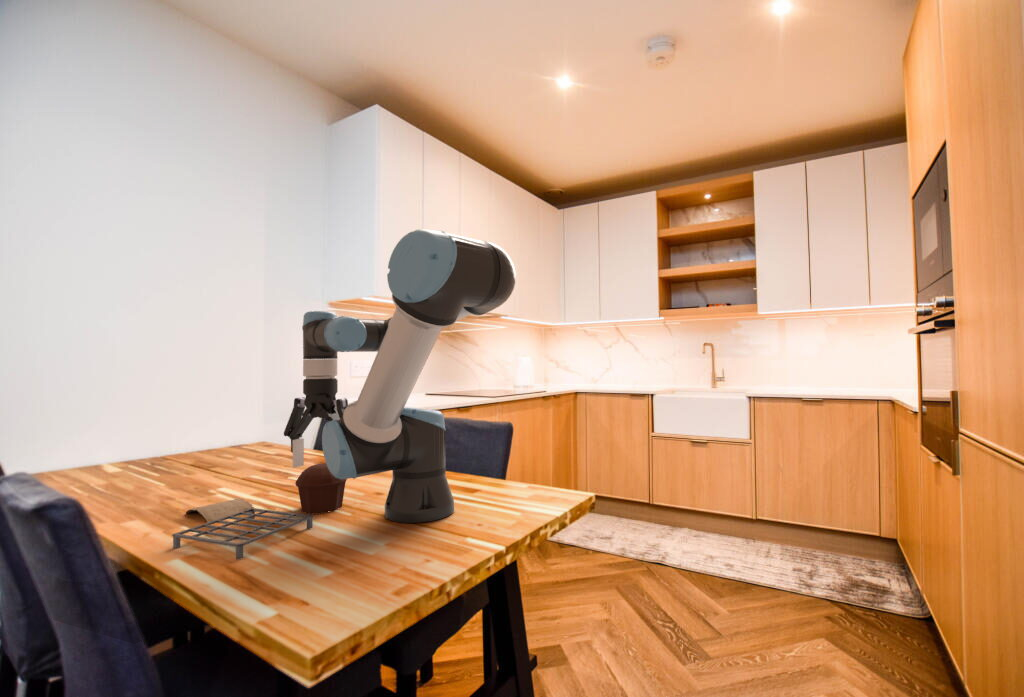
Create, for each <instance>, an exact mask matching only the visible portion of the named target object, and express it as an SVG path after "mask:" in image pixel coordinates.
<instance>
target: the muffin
mask: <svg viewBox="0 0 1024 697" xmlns="http://www.w3.org/2000/svg"><path fill="white" fill-rule="evenodd" d="M347 480H348V479H338V478H336V477H334V476H333V475H332V474H331V472H330V471H329V469H328V467H327V464H326V462H325V463H323V462H322V463H317V464H313V465H310V466H308V467H306V469H304V470H303V471H302V472H301V473H300V474H299V476H298V477H297V479H296V481H295V486H296V487H297V488H298V489H297V490H298V495H299V500H300V501H299V502H300V508H301V512H306V513H305V514H308V513H310V514H309V515H313V514H312V513H320V514H325V513H324V512H327V513H329V512H328V511H331V512H334V511H333V510H336V511H337V510H338V508H339V509H341V508H343V501H344V494H345V489H346V482H347ZM340 507H341V508H340Z"/></svg>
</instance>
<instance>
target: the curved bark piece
mask: <svg viewBox="0 0 1024 697" xmlns="http://www.w3.org/2000/svg"><path fill="white" fill-rule="evenodd" d="M251 508H255V507H254V506H253V504H252V503H250V502H249V501H248V500H244V498H241V497H238V498H233V499H231V500H226V501H221V502H216V503H212V504H207V505H203V506H198V507H193V508H191V509H188V510H186V512H185V514H190V513H194V512H198V513H199V514H200V515H202V516H203V518H204V519H205V520H206V523H208V522H211V521H214V520H217V519H220V518H223V517H226V516H230V515H233V514H236V513H239V512H242V511H245V510H248V509H251ZM255 512H256V511H255ZM247 513H249V512H247ZM256 513H257V512H256ZM235 517H236V516H235ZM238 517H241V516H240V515H238Z"/></svg>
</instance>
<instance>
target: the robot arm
mask: <svg viewBox="0 0 1024 697" xmlns="http://www.w3.org/2000/svg"><path fill="white" fill-rule="evenodd" d="M387 269H388V270H389V271H388V273H387V275H386V277H387V285H388V289H389V290H390V292H391V299H392V302H393V304H394V306H395V310H394V312H393V315H392V316H391V317H389V318H387V319H372V318H371V319H370V318H357V317H355V316H354V317H353V316H343V315H341V316H337V313H336V312H333V311H323V310H320V311H319V310H313V311H311V310H310V311H306V312H305V313H304V315H303V320H302V326H301V327H302V353H303V354H302V356H303V358H302V359H303V360H302V363H303V364H302V365H303V366H302V376H303V377H305V378H304V379H303V381H302V384H303V385H302V393H303V394H304V395H305V396H304V397H295V398H294V399H293V408H292V410H291V413H290V416H289V419H288V421H287V423H286V426H285V429H284V431H283V436H284V437H288V438H289V439H290V452H291V453H292V468H293V469H294V468H300V467H303V466H305V464H304V463H305V441H304V440H305V439H304V436H303V434H304V433H305V431H306V430H307V429H308V427H309V425H310V424H311V422H312V421H313V420H314V419H315V418H319V419H325V421H326V420H327V422H326V423H325V424H324V426H323V429H322V432H321V433H322V434H321V445H322V452H323V457H324V460H325V463H326V464H327V467H328V469H329V471H330V472H331V474H332V475H333V476H334V477H336V478H338V479H347V480H348V479H353V480H355V479H357V478H359V477H360V478H362V477H366V476H370V475H376V474H382V473H386V472H390V471H392V479H391V480H392V481H391V484H390V486H389V491H388V494H387V496H386V500H385V503H384V517H385V518H386V519H387V520H389V521H392V522H396V523H404V524H406V523H408V524H411V523H412V524H413V523H414V524H417V523H418V524H419V523H427V522H433V521H437V520H440V519H441V520H442V519H443V518H447V517H449V516H451V515H452V514H453V513H454V512H455V498H454V496H453V493H452V491H451V488H450V484H449V481H448V478H447V475H446V474H447V473H446V470H447V469H446V431H447V429H446V424H445V416H444V414H443V413H442V412H441V411H440V410H437V409H436V410H435V409H424V408H413V407H411V408H410V407H405V406H406V404H407V402H408V400H409V398H410V396H411V393H412V391H413V389H415V388H414V387H415V386H416V384H417V381H418V379H419V378H420V375H421V373H422V371H423V369H424V367H425V365H426V363H427V360H429V356H430V355H431V353H432V350H433V348H434V346H435V344H436V342H437V340H438V339H439V336H440V334H441V332H442V329H443V328H449V327H451V326H453V325H454V324H455V323H456V322H458V321H460V320H463V319H464V318H467V317H469V316H470V315H473V316H477V317H478V316H482V315H485V314H487V313H489V312H491V311H493V310H495V309H497V308H499V307H501V306H502V305H503V304H505V303H506V302H507V301H508V299H509V298H510V297H511V295H512V293H513V291H514V289H515V285H516V278H517V276H516V269H515V266H514V263H513V261H512V259H511V257H510V256H509V254H508V253H507V252H506V251H505V250H504V249H503V248H501V247H500V246H498V245H497V244H495V243H492V242H489V241H487V240H478V239H474V238H470V237H465V236H462V235H458V234H457V235H456V234H454V233H448V232H447V231H444V230H437V229H435V230H434V229H433V230H431V229H425V228H421V229H418V228H417V229H415V230H413V231H410V232H407V234H405V235H404V236H403V237H402V238H400V239H399V240H398V242H397V243H396V245H395V246H394V247H393V250H392V252H391V255H390V257H389V261H388V266H387ZM338 352H339V353H351V352H352V353H353V352H354V353H356V352H357V353H360V352H361V353H362V352H363V353H365V352H369V353H370V352H371V353H372V352H373V353H374V352H375V353H376V356H375V357H374V360H373V362H372V364H371V367H370V370H369V372H368V374H367V376H366V379H365V381H364V384H363V387H362V389H361V391H360V393H359V395H358V398H357V400H354V401H352V402H350V403H348V401H349V400H348V399H347V398H345V397H344V398H336V397H337V396H336V395H337V393H338V378H335V377H336V376H338Z"/></svg>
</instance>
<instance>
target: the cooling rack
mask: <svg viewBox="0 0 1024 697" xmlns="http://www.w3.org/2000/svg"><path fill="white" fill-rule="evenodd" d="M255 511H256V513H255ZM247 512H249V513H247ZM266 514H272V515H266ZM274 514H275V515H283V516H284V517H283V516H274ZM238 515H243V516H245V517H242V516H238ZM235 516H238V517H235ZM256 517H257V518H263V519H271V521H270V520H262V519H256ZM294 517H299V518H301V519H298V518H294ZM313 518H314V514H306V513H295V512H290V511H289V512H288V511H287V512H286V511H280V510H271V509H262V508H255V507H254V508H251V509H248V510H245V511H242V512H239V513H236V514H233V515H230V516H226V517H223V518H220V519H217V520H214V521H211V522H208V523H207V522H205V523H203V524H200V525H196V526H194V527H191V528H187V529H184V530H181V531H177V532H176V533H172V534H171V535H172V536H171V537H172V539H173V541H172V542H173V544H172V547H173V548H172V549H178V548H181V542H182V541H181V539H185V540H192V541H197V542H204V543H211V544H215V545H220V546H221V545H222V546H229V547H235V559H236V560H239V559H240V560H242V559H244V546H246V545H249V544H251V543H253V542H256V541H258V540H261V539H263V538H266V537H268V536H271V535H274V534H275V533H278V532H281V531H283V530H286V529H289V528H291V527H293V526H296V525H298V524H301V523H303V522H306V529H307V530H311V529H313V527H314V526H313V521H314V520H313ZM229 519H230V520H234V521H227V520H229ZM272 519H273V520H274V521H272ZM284 521H287V523H286V522H284ZM288 521H289V522H291V523H288ZM242 522H250V523H252V522H253V523H258V524H259V523H260V524H263V525H257V524H250V523H242ZM214 524H221V525H214ZM273 525H274V526H280V527H271V526H273ZM229 526H239V527H245V528H250V530H249V529H247V530H246V529H240V528H234V527H229ZM202 528H206V529H207V528H208V530H201V529H202ZM310 528H311V529H310ZM218 530H220V531H221V530H222V531H227V532H235V533H239V534H237V535H233V534H229V533H222V532H216V531H218ZM260 530H265V531H268V532H261V531H260ZM187 533H196V534H193V535H188V534H187ZM203 535H209V536H215V537H221V538H222V537H223V538H227V539H223V540H220V539H213V538H207V537H201V536H203ZM248 535H255V537H249V536H248ZM235 540H241V541H242V542H240V543H239V542H233V541H235ZM241 558H242V559H241Z"/></svg>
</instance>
